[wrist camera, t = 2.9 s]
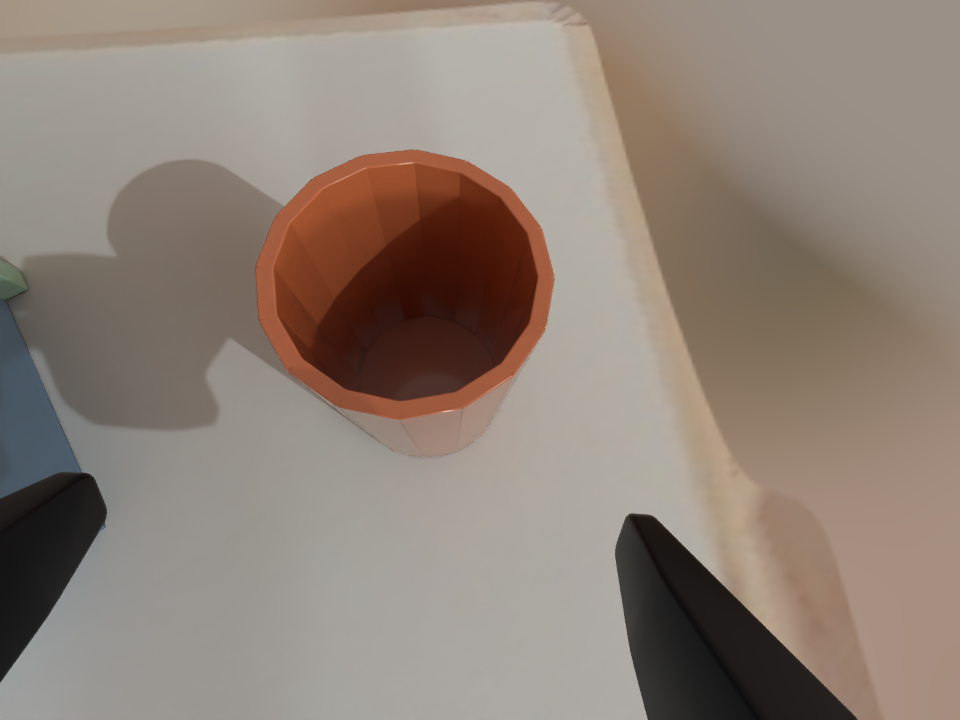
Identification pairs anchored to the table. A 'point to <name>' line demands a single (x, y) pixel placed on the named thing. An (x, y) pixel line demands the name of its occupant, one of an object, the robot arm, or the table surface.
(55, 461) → the door shelf
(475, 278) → the cup
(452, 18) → the table surface
